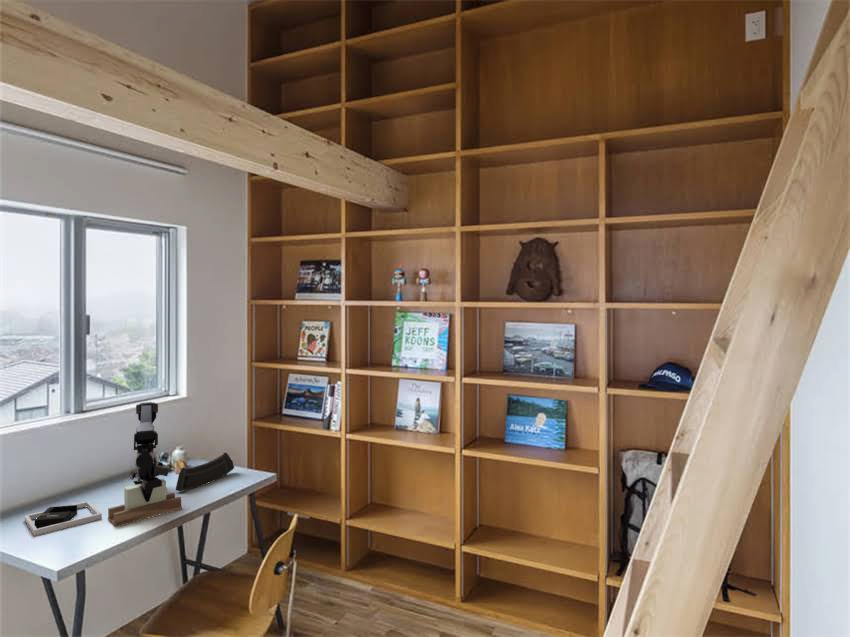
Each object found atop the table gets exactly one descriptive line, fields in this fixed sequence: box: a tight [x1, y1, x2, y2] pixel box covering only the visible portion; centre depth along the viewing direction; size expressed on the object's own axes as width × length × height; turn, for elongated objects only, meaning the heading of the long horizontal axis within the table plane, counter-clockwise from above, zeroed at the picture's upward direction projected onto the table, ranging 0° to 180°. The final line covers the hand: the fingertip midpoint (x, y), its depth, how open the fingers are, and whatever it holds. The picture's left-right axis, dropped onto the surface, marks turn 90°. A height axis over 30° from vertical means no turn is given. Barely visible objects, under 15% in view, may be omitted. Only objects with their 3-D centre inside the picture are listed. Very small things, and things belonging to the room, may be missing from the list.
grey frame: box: [24, 500, 103, 537], centre depth 199 cm, size 18×21×2 cm
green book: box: [123, 478, 167, 510], centre depth 205 cm, size 4×14×10 cm, turn 136°
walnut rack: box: [107, 492, 183, 527], centre depth 205 cm, size 9×24×4 cm, turn 136°
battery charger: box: [34, 504, 78, 529], centre depth 197 cm, size 13×10×4 cm
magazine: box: [175, 452, 235, 492], centre depth 240 cm, size 17×3×30 cm
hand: (145, 500), depth 205 cm, fingers closed on green book, 3 cm apart
